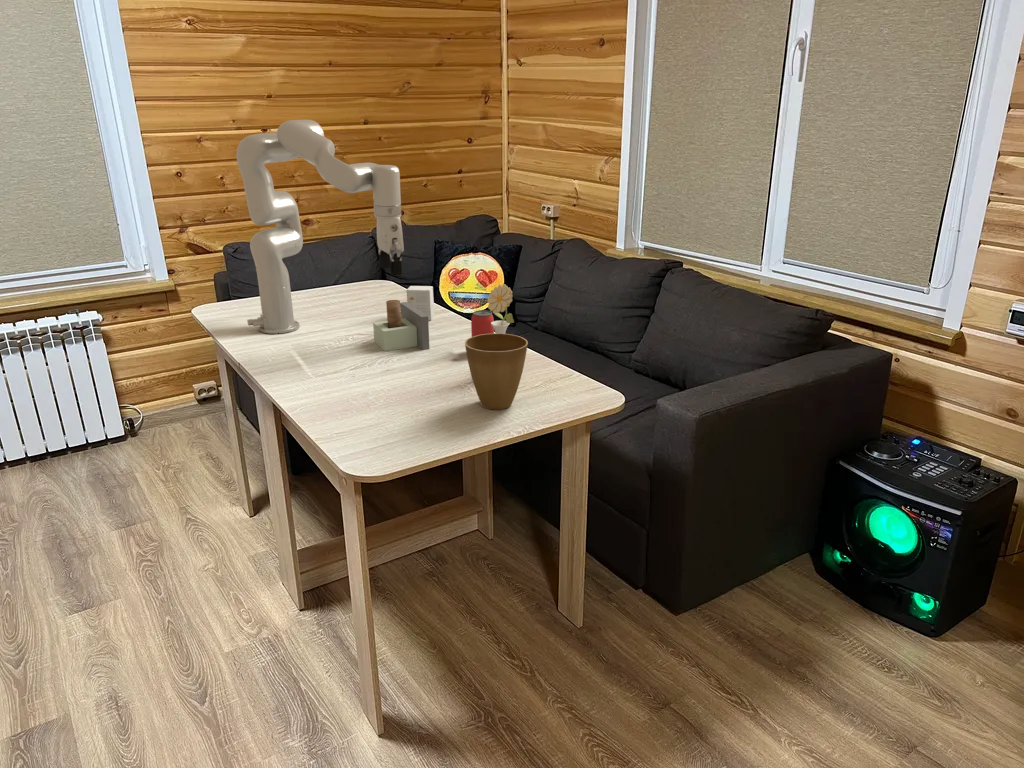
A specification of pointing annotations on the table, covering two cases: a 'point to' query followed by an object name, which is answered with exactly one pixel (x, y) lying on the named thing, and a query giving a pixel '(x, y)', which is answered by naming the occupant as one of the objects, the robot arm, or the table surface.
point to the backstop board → (417, 323)
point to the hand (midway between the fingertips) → (390, 271)
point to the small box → (422, 299)
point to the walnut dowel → (393, 313)
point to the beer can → (482, 323)
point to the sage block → (395, 335)
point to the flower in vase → (500, 307)
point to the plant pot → (496, 367)
